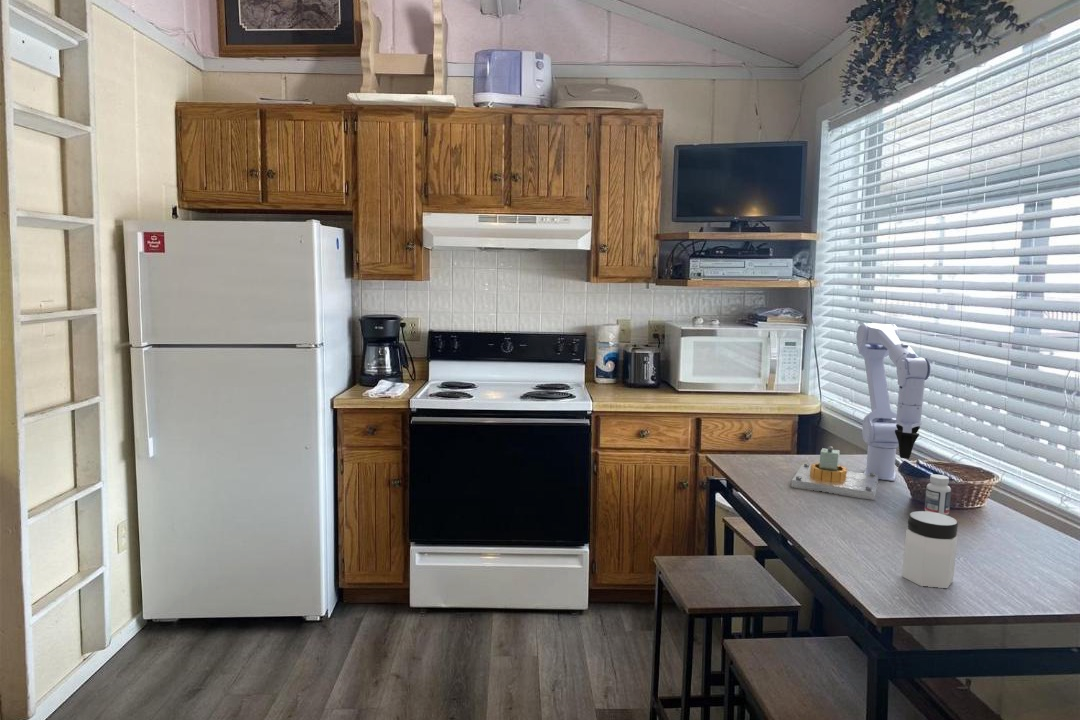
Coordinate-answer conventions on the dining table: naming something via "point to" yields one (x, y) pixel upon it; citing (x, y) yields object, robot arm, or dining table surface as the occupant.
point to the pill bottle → (938, 495)
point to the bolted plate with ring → (836, 481)
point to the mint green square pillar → (829, 459)
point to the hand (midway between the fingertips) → (905, 454)
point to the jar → (930, 549)
